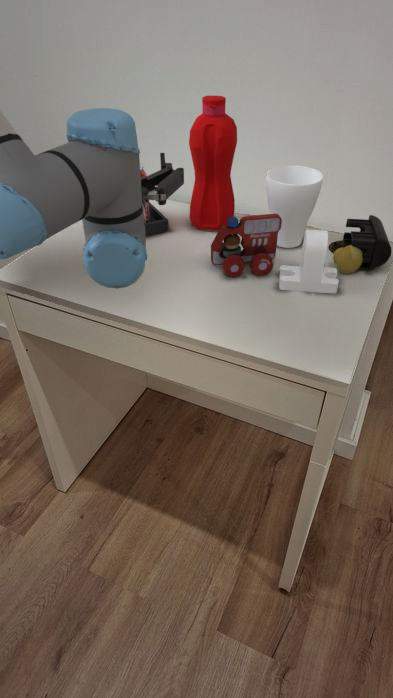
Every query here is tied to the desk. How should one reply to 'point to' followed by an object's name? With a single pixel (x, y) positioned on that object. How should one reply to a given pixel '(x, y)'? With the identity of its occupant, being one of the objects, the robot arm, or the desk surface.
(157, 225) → the tray
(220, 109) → the water bottle
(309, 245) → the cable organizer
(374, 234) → the end cap
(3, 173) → the robot arm
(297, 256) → the desk surface
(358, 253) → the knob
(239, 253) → the toy fire truck
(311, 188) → the cup
